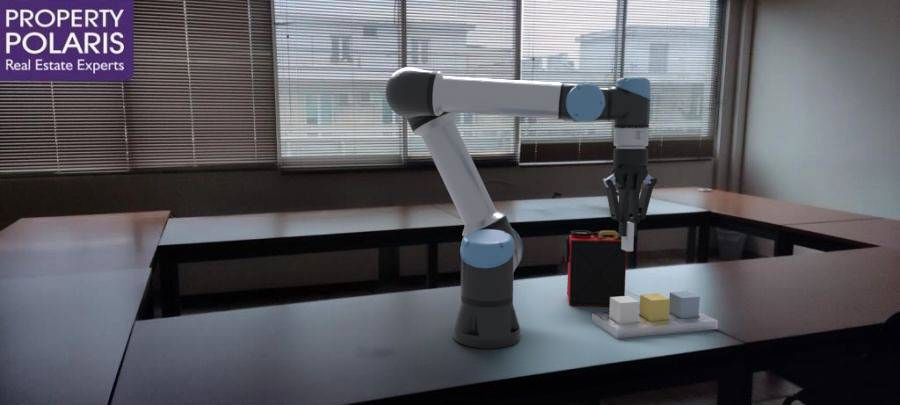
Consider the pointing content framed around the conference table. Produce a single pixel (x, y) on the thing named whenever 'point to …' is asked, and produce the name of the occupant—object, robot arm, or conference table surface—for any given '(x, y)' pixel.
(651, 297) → the mustard key
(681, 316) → the slate key
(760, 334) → the conference table surface
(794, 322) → the conference table surface
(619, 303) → the ivory key
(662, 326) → the key panel
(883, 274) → the conference table surface
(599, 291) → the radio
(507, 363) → the conference table surface
